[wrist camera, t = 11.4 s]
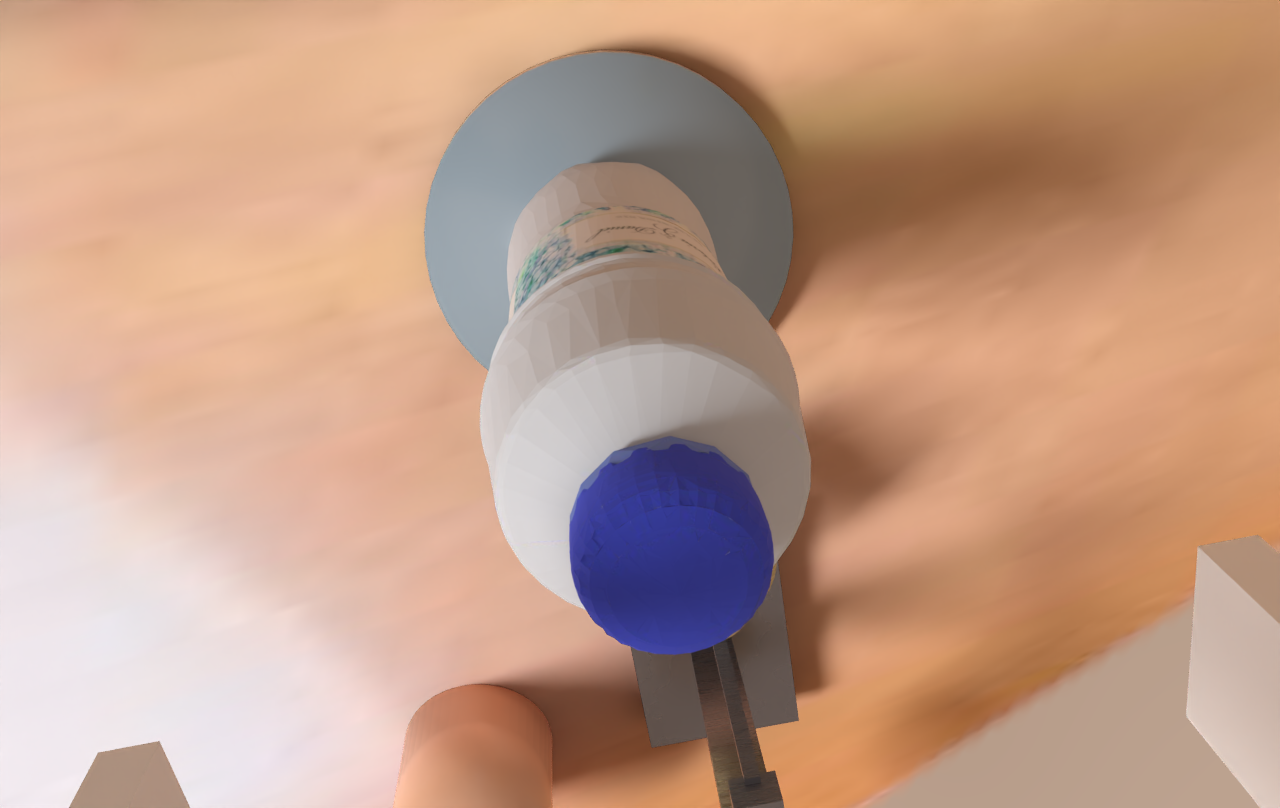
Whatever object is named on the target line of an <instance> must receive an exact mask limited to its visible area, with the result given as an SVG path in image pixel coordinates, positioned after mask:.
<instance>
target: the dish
mask: <svg viewBox="0 0 1280 808" xmlns="http://www.w3.org/2000/svg"><path fill="white" fill-rule="evenodd" d="M601 162H623V163H639V164H641V165H644V166H646V167H649V168H651V169H653V170H656V171H657V172H659V173H660V174H662V175H663V176H665V177H666V178H667V179H668V180H670V181H671V182H672V183H673V184H675V185H676V186H677V187H678V188H679V189H680V190H681V191H682V192H683V193H685V194H686V195H687V196H688V198H689V199H690V200H691V201H692V203H693V204H694V205H695V207H696V208H697V209H698V211H699V212H700V214H701V216H702V218H703V220H704V222H705V224H706V226H707V228H708V230H709V233H710V235H711V238H712V241H713V244H714V248H715V252H716V256H717V260H718V263H719V265H720V267H721V269H722V271H723V273H724V274H725V276H726V278H727V280H728V281H730V282H731V283H733V284H734V285H735V286H737V287H738V288H739V289H740V290H741V291H742V292H743V293H744V294H745V295H746V296H747V297H748V298H749V299H750V300H751V301H752V302H753V303H754V304H755V305H756V307H757V308H758V310H759V311H760V312H761V314H762V315H763V316H764V318H765V319H766V320H767V321H768V322H769V320H770V318H771V316H772V314H773V312H774V310H775V308H776V306H777V305H778V302H779V300H780V297H781V294H782V291H783V289H784V286H785V283H786V280H787V275H788V271H789V266H790V262H791V255H792V244H793V217H792V208H791V202H790V197H789V191H788V187H787V184H786V181H785V178H784V175H783V172H782V168H781V166H780V164H779V162H778V160H777V157H776V155H775V153H774V151H773V149H772V147H771V145H770V143H769V142H768V140H767V139H766V137H765V136H764V134H763V133H762V131H761V130H760V128H759V127H758V125H757V124H756V123H755V122H754V121H753V119H752V118H751V117H750V116H749V115H748V114H747V113H746V111H745V110H744V109H743V108H742V107H741V106H740V105H739V104H738V103H737V102H736V101H735V100H733V99H732V98H731V97H730V96H729V95H728V94H727V93H725V92H724V91H723V90H722V89H721V88H720V87H718V86H717V85H716V84H714V83H713V82H711V81H710V80H708V79H706V78H705V77H703V76H702V75H700V74H699V73H697V72H695V71H693V70H691V69H689V68H687V67H684V66H682V65H680V64H678V63H676V62H673V61H670V60H667V59H664V58H660V57H657V56H654V55H650V54H644V53H638V52H632V51H626V50H595V51H586V52H577V53H573V54H569V55H565V56H561V57H557V58H553V59H550V60H548V61H545V62H543V63H540V64H538V65H535V66H533V67H530V68H528V69H526V70H525V71H523V72H521V73H519V74H518V75H516V76H514V77H512V78H511V79H509V80H507V81H506V82H504V83H503V84H502V85H501V86H499V87H498V88H497V89H495V90H494V91H493V92H492V93H490V94H489V95H488V96H487V97H486V98H485V99H484V100H483V101H482V102H481V103H480V104H479V105H478V106H477V107H476V108H475V109H474V110H473V111H472V112H471V113H470V114H469V115H468V117H467V118H466V119H465V121H464V122H463V123H462V125H461V126H460V128H459V129H458V130H457V132H456V133H455V135H454V136H453V138H452V140H451V142H450V144H449V146H448V147H447V149H446V151H445V153H444V155H443V157H442V159H441V161H440V164H439V167H438V169H437V172H436V175H435V177H434V180H433V183H432V186H431V190H430V195H429V199H428V204H427V208H426V219H425V231H424V234H425V254H426V261H427V266H428V271H429V277H430V281H431V284H432V287H433V290H434V293H435V296H436V299H437V302H438V304H439V306H440V308H441V310H442V312H443V314H444V316H445V318H446V320H447V322H448V324H449V325H450V327H451V328H452V330H453V331H454V333H455V334H456V336H457V338H458V339H459V341H460V342H461V343H462V344H463V345H464V347H465V348H466V349H467V350H468V351H469V352H470V354H471V355H472V356H473V357H474V358H475V359H476V360H477V361H478V362H479V363H480V364H481V365H483V366H484V367H485V368H486V369H487V370H488V371H489V368H490V363H491V359H492V355H493V352H494V350H495V347H496V345H497V342H498V340H499V337H500V335H501V333H502V331H503V330H504V328H505V327H506V325H507V324H508V321H509V310H510V300H509V293H508V281H507V260H508V249H509V244H510V241H511V237H512V233H513V229H514V226H515V223H516V221H517V219H518V217H519V215H520V214H521V212H522V210H523V209H524V208H525V207H526V205H527V204H528V203H529V202H530V201H531V199H532V198H533V197H534V196H535V194H536V193H537V192H538V191H539V190H540V189H542V188H543V187H544V186H545V185H546V184H547V183H548V182H550V181H551V180H552V179H553V178H554V177H555V176H556V175H558V174H559V173H560V172H561V171H563V170H565V169H568V168H570V167H572V166H574V165H577V164H584V163H601Z"/></svg>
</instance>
